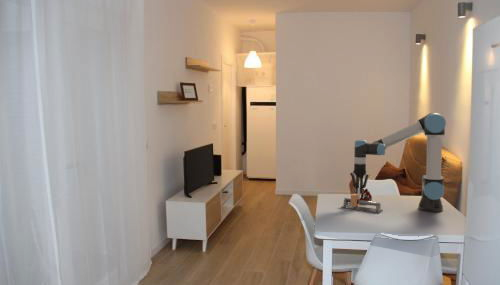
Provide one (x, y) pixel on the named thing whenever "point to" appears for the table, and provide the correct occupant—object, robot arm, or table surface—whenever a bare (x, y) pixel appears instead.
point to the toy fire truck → (365, 195)
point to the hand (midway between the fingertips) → (359, 198)
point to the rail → (365, 209)
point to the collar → (354, 200)
